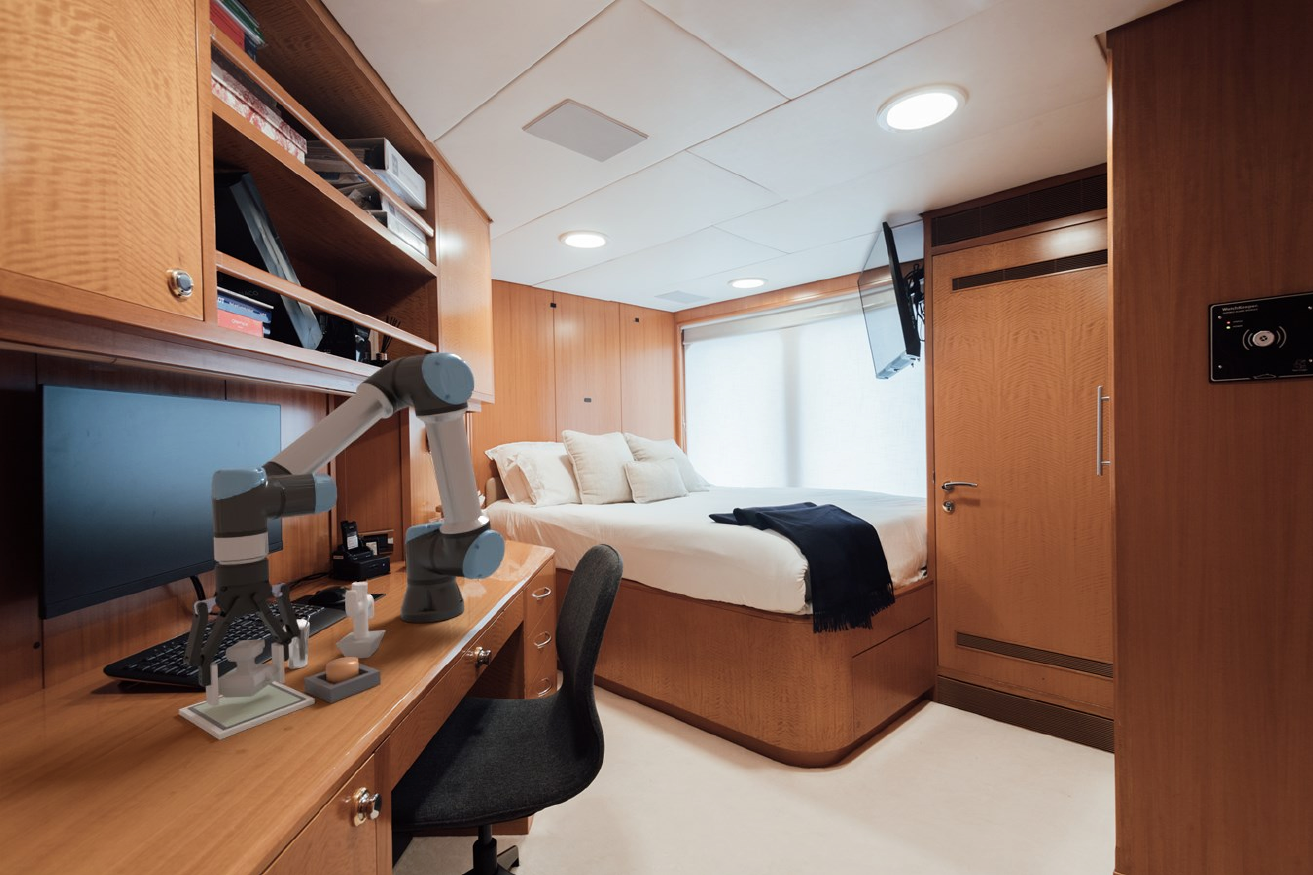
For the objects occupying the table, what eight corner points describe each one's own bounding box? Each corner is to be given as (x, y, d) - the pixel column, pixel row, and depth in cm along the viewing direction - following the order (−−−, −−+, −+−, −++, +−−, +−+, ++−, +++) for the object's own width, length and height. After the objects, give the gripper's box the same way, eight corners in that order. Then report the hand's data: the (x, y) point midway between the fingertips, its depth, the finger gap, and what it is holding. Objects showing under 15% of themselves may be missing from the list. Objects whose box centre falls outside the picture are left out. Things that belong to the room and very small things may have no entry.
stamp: (205, 703, 98) (203, 652, 97) (231, 686, 104) (230, 638, 104) (263, 700, 98) (261, 649, 98) (285, 683, 105) (283, 635, 105)
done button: (349, 670, 112) (348, 654, 112) (364, 676, 109) (364, 660, 109) (320, 680, 108) (320, 664, 108) (336, 687, 105) (335, 670, 105)
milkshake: (302, 671, 117) (300, 620, 117) (278, 669, 118) (276, 619, 118) (319, 662, 121) (318, 613, 121) (297, 660, 122) (295, 612, 122)
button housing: (353, 673, 115) (353, 661, 115) (380, 683, 110) (380, 670, 110) (304, 691, 107) (304, 678, 107) (331, 703, 102) (330, 689, 102)
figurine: (388, 645, 130) (385, 576, 130) (370, 662, 121) (367, 587, 120) (353, 647, 129) (351, 577, 129) (333, 664, 120) (330, 589, 120)
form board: (270, 683, 111) (270, 678, 111) (314, 703, 103) (314, 698, 103) (179, 714, 100) (178, 708, 100) (219, 739, 91) (219, 733, 91)
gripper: (299, 545, 112) (303, 665, 112) (152, 570, 94) (157, 713, 94) (320, 549, 108) (324, 673, 108) (170, 576, 90) (176, 725, 90)
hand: (247, 691), depth 101 cm, fingers closed on stamp, 9 cm apart
